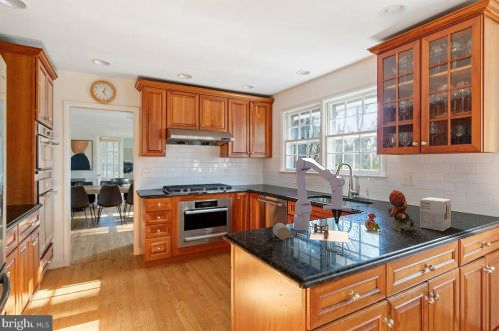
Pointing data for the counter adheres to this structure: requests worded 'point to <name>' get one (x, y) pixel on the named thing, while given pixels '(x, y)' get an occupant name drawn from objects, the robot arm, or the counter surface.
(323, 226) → the frame
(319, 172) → the robot arm
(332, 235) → the card
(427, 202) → the supplement box
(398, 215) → the stuffed monkey
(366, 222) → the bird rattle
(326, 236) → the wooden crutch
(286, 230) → the ceramic mug
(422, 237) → the counter surface
